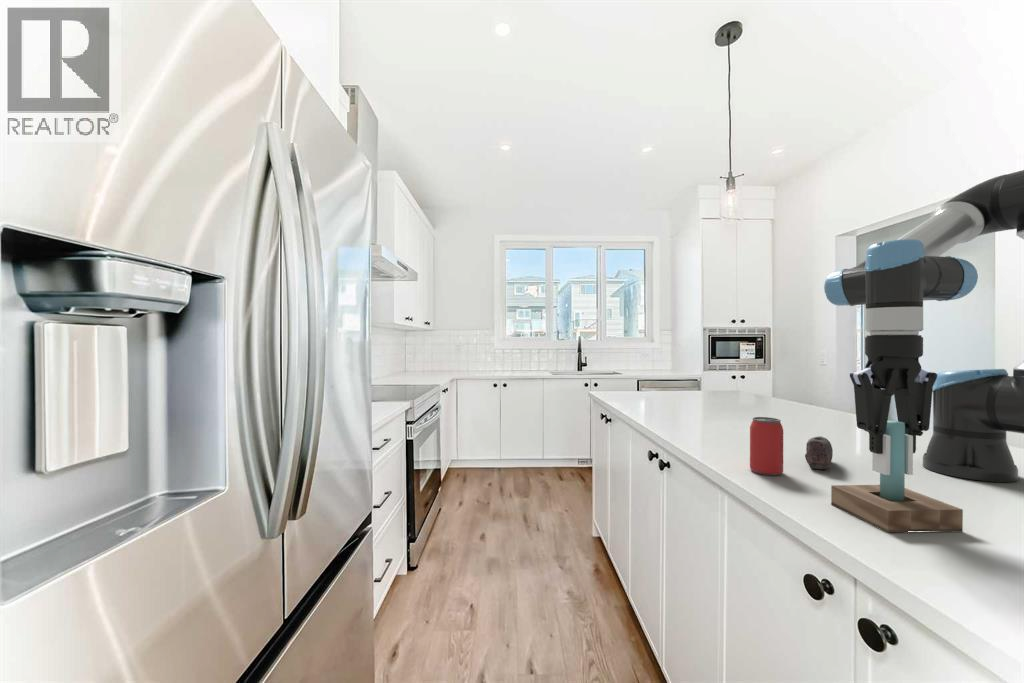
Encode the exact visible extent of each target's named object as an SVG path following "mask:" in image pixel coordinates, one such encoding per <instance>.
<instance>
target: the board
mask: <svg viewBox="0 0 1024 683" xmlns="http://www.w3.org/2000/svg"><path fill="white" fill-rule="evenodd" d="M830 492H831V495H830V497H831V498H830V502H831V503H830V504H831V506H834V507H836V508H838V509H839V510H841V511H844V512H845V513H847V512H848V513H847V514H850V515H851V516H853V515H854V516H853V517H855V516H856V517H855V518H857V517H858V518H857V519H859V518H860V519H859V520H861V519H862V520H861V521H863V520H864V521H863V522H865V521H866V522H865V523H867V522H868V523H867V524H869V523H870V525H871V524H872V525H871V526H873V525H874V526H873V527H875V526H876V528H877V527H878V528H877V529H879V528H880V529H879V530H881V529H882V530H881V531H883V530H884V531H883V532H885V531H886V532H885V533H887V532H908V531H963V529H964V527H963V525H964V523H963V520H964V519H963V517H964V514H963V513H964V509H963V508H960V507H957V506H954V505H951V504H949V503H947V502H943V501H940V500H938V499H936V498H933V497H930V496H927V495H924V494H923V493H920V492H917V491H914V490H912V489H911V490H910V489H908V488H905V499H904V502H890V501H888V500H885V499H883V498H881V497H880V484H849V485H848V484H846V485H845V484H843V485H841V484H840V485H838V484H837V485H835V484H833V485H832V484H831V491H830Z"/></svg>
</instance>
